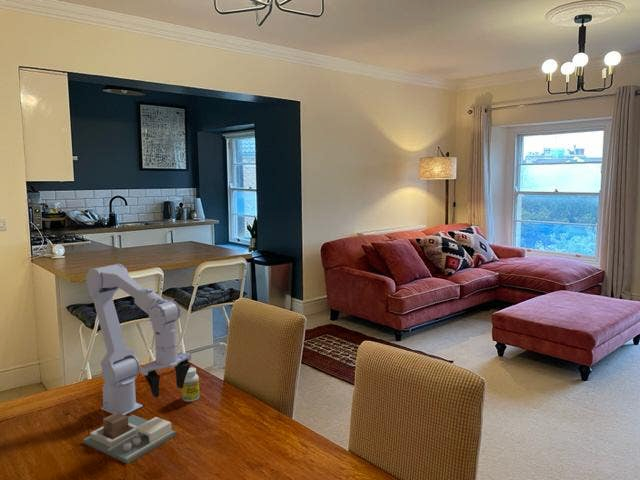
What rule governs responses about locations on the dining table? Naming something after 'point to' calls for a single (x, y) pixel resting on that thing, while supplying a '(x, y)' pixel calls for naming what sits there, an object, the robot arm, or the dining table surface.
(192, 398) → the supplement bottle
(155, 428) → the cover
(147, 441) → the housing board
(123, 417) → the block
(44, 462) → the dining table surface
